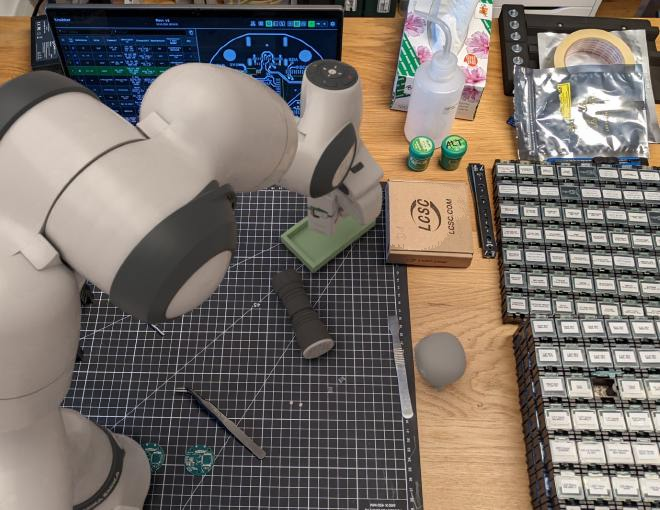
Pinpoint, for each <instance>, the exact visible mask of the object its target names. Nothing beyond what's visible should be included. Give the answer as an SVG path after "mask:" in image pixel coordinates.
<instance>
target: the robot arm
mask: <svg viewBox="0 0 660 510" xmlns="http://www.w3.org/2000/svg"><path fill="white" fill-rule="evenodd" d="M359 73H360V72H358V71H357V69H356V68H355V67H353V66H352V65H350V64H349V63H346V62H343V61H340V60H336V59H331V58H324V59H319V60H315V61H313V62H311V63H309V64H308V65H307V66H306V67H305V69H304V71H303V74H302V79H301V87H300V98H299V100H300V101H299V102H300V103H299V116H300V117H299V116H296V115H294V113H293V111H292V109H291V107H290V106H289V104H288V102H287V101H286V100H285V99H284V98H283V96H281V95H280V94H279V93H277V92H276V91H275V90H274V89H272V88H271V86H268V85H267V84H266V83H264V82H262V81H260V80H258V79H257V78H255V77H253V76H252V75H250V74H247V73H245V72H242V71H240V70H237V69H234V68H232V67H228V66H224V65H220V64H213V63H204V62H186V63H183V64H181V63H180V64H178V65H175V66H172V67H170V68H168V69H166V70H165V71H164V72H162V73H161V74H159V75H158V76H157V77H156V78H155V79H154V80H153V81H152V83H150V85H149V86H148V88H147V90H146V91H145V93H144V95H143V98H142V101H141V103H140V107H139V115H138V122H137V123H136V124H135V125H136V126H134V125H133V124H132V123H131V122H129V121H128V120H127V119H126V118H124V117H123V116H121V115H120V114H119V113H117V112H116V111H114V110H113V109H112V108H111V107H109V106H107V105H106V104H104V103H103V102H102V101H101V99H100V97H99V96H98V95H97V94H96V93H95V92H94V91H93V90H91V89H89V88H88V87H86V86H84V85H83V84H81V83H79V82H77V81H76V80H74V79H72V78H69V77H67V76H66V75H63V74H60V73H58V72H54V71H50V70H34V71H30V72H26V73H24V74H21V75H17V76H15V77H12V78H11V79H8V80H7V81H5V82H3V83H1V84H0V510H143V508H144V503H145V501H146V498H147V496H148V493H149V490H150V486H151V479H152V476H151V475H152V473H151V464H150V460H149V458H148V456H147V453H146V451H145V450H144V448H143V447H142V446H141V444H139V443H138V441H136V440H134V438H132V437H129V436H127V435H125V434H122V433H116V432H113V431H112V430H110V429H109V428H108V427H105V426H103V425H102V424H100V423H99V422H97V421H94V420H91V419H89V418H87V417H86V416H85V415H84V414H83V413H81V412H80V411H77V410H75V409H73V408H70V407H69V408H68V407H62V406H61V404H62V403H63V401H64V399H65V397H67V395H68V392H69V390H70V388H71V384H72V379H73V374H74V369H75V365H76V364H75V363H76V360H77V359H76V358H77V354H78V348H79V343H80V337H81V330H82V329H81V328H82V303H81V295H80V293H81V292H82V291H81V290H82V288H83V287H84V284H85V282H86V281H88V282H89V283H91V284H92V285H93V286H94V287H96V288H97V289H99V290H100V291H102V292H103V293H104V294H106V295H108V298H109V302H110V303H111V304H112V305H114V306H115V307H117V308H118V309H119V310H121V311H122V312H124V313H125V314H128V315H129V316H131V317H132V318H134V319H136V320H139V321H141V322H143V323H145V324H148V325H151V326H153V325H159V324H165V323H170V322H173V321H175V320H178V319H179V318H181V317H182V316H184V315H185V314H188V313H190V312H191V311H193V310H195V309H196V308H198V307H199V306H200V305H202V304H203V303H205V302H206V301H207V300H208V299H209V298H210V297H211V296H212V295H213V294H214V293H215V292H216V290H217V289H218V288H219V286H220V285H221V283H222V282H223V280H224V278H225V276H226V274H227V272H228V270H229V268H230V267H231V264H232V262H233V261H234V258H235V255H236V250H237V244H238V243H237V242H238V223H237V219H236V216H235V215H236V214H235V211H236V207H237V203H238V197H237V196H238V195H237V194H248V193H256V192H259V191H264V190H265V189H268V188H269V187H271V186H273V185H275V186H278V187H280V188H283V189H285V190H289V191H290V192H293V193H296V194H299V195H301V196H305V197H307V196H308V197H311V198H313V199H315V198H319V197H322V196H325V195H327V194H328V193H330V192H333V193H334V194H336V203H337V204H338V205H340V206H341V207H340V208H338V214H339V215H340V216H341V217H342V218H343V219H345V218H347V217H348V216H349V215H350V216H351V217H353V218H354V219H355V220H356V221H357V222H358V223H359V224H360V225H367V224H369V223H370V222H371V221H373V220H374V219H377V217H379V215H380V214H381V211H382V204H383V188H382V185H381V183H380V182H381V180H383V178H384V175H385V174H384V170H383V168H382V167H381V166H380V165H379V163H378V162H377V161H376V159H374V157H373V156H372V154H371V152H370V151H369V150H368V148H367V146H366V144H365V142H364V141H363V140H362V134H361V130H360V128H361V125H362V122H363V115H364V114H363V113H364V92H363V83H362V79H361V76H360V74H359Z"/></svg>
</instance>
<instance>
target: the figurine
mask: <svg viewBox="0 0 660 510" xmlns="http://www.w3.org/2000/svg"><path fill="white" fill-rule="evenodd" d="M413 350H414V352H413V353H414V362H415V367H416V370H417V373H418V375H419V376H420V377H421V379H423V381H425V382H426V383H428V384H429V385H430V387H432V388H434V390H436V393H437V394H438V393H442V392H443V391H444V389H445V387H446V386H449V385H452V384H454V383H456V382H458V381H460V380H461V378H462V377H463V376H464V375H465V372H466V369H467V355H466V352H465V349H464V346H463V343H461V340H460V339H459V338H458V337H457V336H456V335H454V334H453V333H450V332H446V331H437V332H433V333H430V334H428V335H425V336H423V338H421V339H419V341H418V342H417V343H416V344H415V346H414V349H413Z"/></svg>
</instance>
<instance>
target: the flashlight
mask: <svg viewBox="0 0 660 510" xmlns="http://www.w3.org/2000/svg"><path fill="white" fill-rule="evenodd" d="M271 282H272V283H271V284H272V286H271V287H272V289H273V291H274V293H275V296H276V297H278V298H279V300H280V301H281V304H282V305H283V308H284V309H285V310H286V312H287V315H288V317H289V319H290V320H291V328H292V330H293V333H294V334H295V339H296V343H297V345H298V347H299V349H300V351H301V354H302V356H303V358H304V359H308V360H309V359H311V360H312V359H314V358H317V357H321V356H322V355H324V354H326V353H327V352H329V351H330V350H331V349H332V348H334V346H335V341H334V340H333V338H332V336H331V334H330V332H329V330H328V327H327V326H326V325H325V324H324V323H323V322H322V318H321V316H320V314H319V313H318V312H317V311H314V308H313V305H312V303H311V301H310V299H309V295H308V293H307V290H306V288H305V285H304V284H305V281H304V280H303V277H302V275H301V274H300V272H298V271H297V270H296V269H295V268H286V269H283V270H280V271H279V272H278V273H276V274H275V275H274V276H273V277H272V279H271Z"/></svg>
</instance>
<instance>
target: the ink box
mask: <svg viewBox="0 0 660 510" xmlns="http://www.w3.org/2000/svg"><path fill="white" fill-rule="evenodd" d="M306 201H307V202H306V203H307V216H308V228H309V229H311V230H313V231H316V232H318V233H321V234H324V235H326V236H329V237H332V236H333V234H334V232H335V230H336V228H337V226H338V224H339V222H340V220H341V218H342V217H341V216H340V215H339V214H338V208H340V207H341V206H340V205H338V204H337V203H336V194H334V193H333V192H330V193H328V194H327V195H325V196H322V197H319V198H315V199H313V198H311V197H308V196H306Z"/></svg>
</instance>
